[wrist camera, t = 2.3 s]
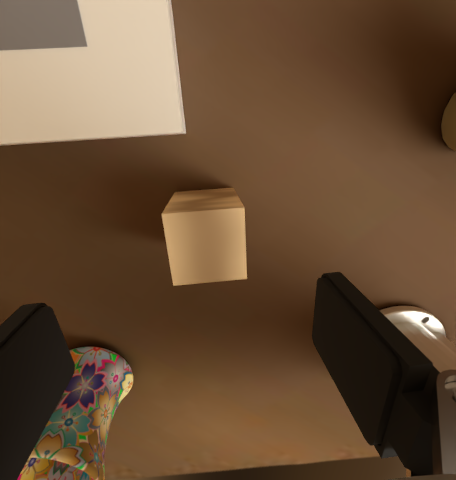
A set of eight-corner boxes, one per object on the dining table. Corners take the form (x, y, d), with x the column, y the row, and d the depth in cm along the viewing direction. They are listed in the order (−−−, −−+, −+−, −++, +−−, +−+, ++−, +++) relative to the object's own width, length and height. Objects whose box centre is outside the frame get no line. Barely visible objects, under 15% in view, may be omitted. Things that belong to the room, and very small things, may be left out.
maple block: (232, 187, 22) (244, 207, 15) (235, 240, 24) (247, 278, 17) (175, 191, 21) (161, 214, 15) (182, 245, 23) (173, 285, 17)
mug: (42, 339, 26) (-60, 461, 16) (134, 335, 27) (91, 450, 17) (67, 416, 30) (-1, 549, 20) (145, 412, 31) (116, 538, 21)
